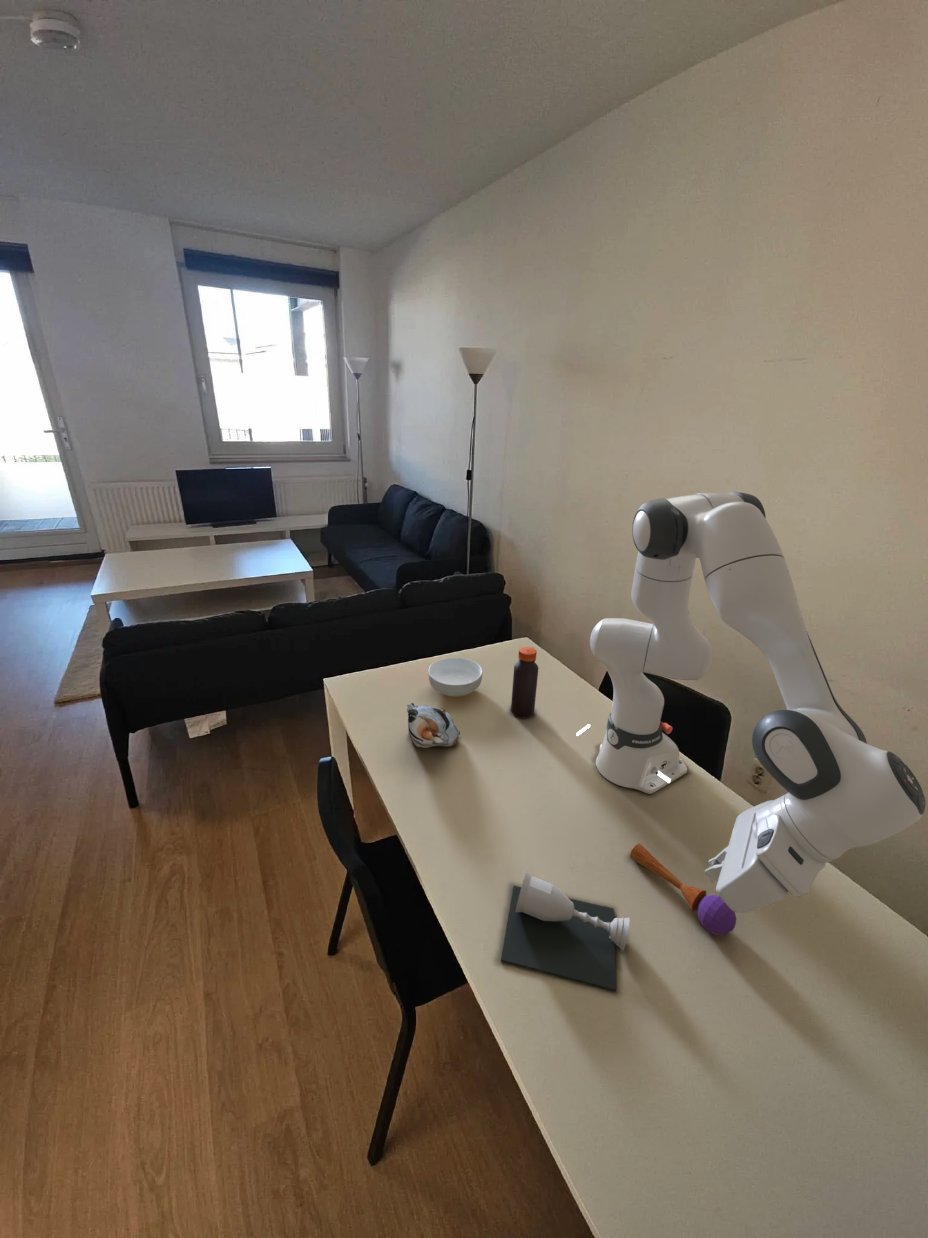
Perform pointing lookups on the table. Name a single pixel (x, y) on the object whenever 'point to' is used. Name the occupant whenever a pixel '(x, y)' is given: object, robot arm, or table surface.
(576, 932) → the mat
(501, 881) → the table surface
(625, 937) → the chalice
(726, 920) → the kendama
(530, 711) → the bottle
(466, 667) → the cereal bowl
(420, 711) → the lucky cat figurine
